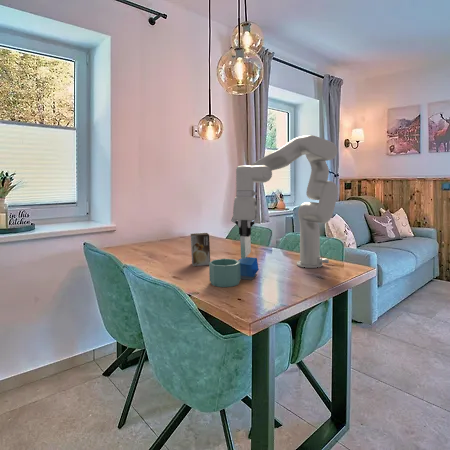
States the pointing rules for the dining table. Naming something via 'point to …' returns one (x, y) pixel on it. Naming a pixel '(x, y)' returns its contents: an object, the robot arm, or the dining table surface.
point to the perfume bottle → (248, 266)
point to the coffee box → (200, 249)
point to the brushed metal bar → (245, 240)
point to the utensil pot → (224, 272)
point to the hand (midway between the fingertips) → (245, 235)
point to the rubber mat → (247, 277)
